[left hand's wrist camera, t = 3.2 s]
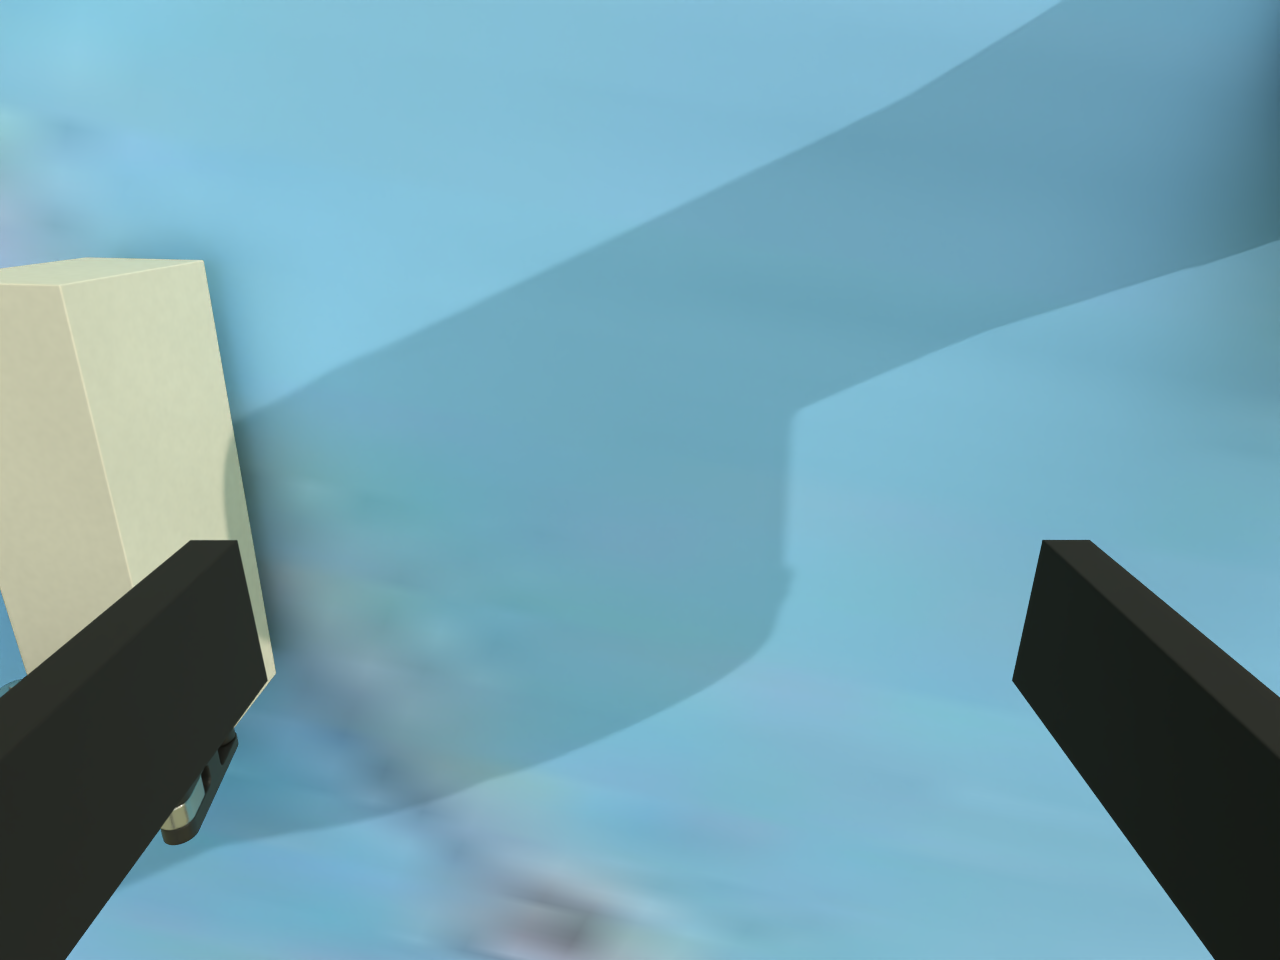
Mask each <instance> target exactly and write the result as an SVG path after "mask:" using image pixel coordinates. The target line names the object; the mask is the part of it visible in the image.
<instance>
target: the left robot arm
mask: <svg viewBox="0 0 1280 960" xmlns="http://www.w3.org/2000/svg"><path fill="white" fill-rule="evenodd" d="M267 681H268V679H267V674H266V670H265V665H264V660H263V656H262V651H261V646H260V642H259V637H258V633H257V628H256V623H255V619H254V614H253V610H252V605H251V600H250V596H249V591H248V587H247V582H246V577H245V573H244V568H243V564H242V559H241V554H240V550H239V545H238V541H237V540H190V541H189V542H187V543H186V544H185V545H184V546H183V547H181V548H180V549H179V550H178V551H177V552H175V553H174V554H173V555H172V556H171V557H169V558H168V559H167V560H166V561H165V562H163V563H162V564H161V565H160V566H158V567H157V568H156V569H155V570H154V571H152V572H151V573H150V574H149V575H148V576H146V577H145V578H144V579H143V580H142V581H140V582H139V583H138V584H137V585H136V586H134V587H133V588H132V589H131V590H129V591H128V592H127V593H126V594H125V595H123V596H122V597H121V598H120V599H119V600H117V601H116V602H115V603H114V604H113V605H111V606H110V607H109V608H108V609H107V610H105V611H104V612H103V613H102V614H100V615H99V616H98V617H97V618H96V619H94V620H93V621H92V622H91V623H90V624H88V625H87V626H86V627H85V628H84V629H82V630H81V631H80V632H79V633H78V634H76V635H75V636H74V637H73V638H72V639H70V640H69V641H68V642H67V643H65V644H64V645H63V646H62V647H61V648H59V649H58V650H57V651H56V652H55V653H53V654H52V655H51V656H50V657H49V658H47V659H46V660H45V661H44V662H43V663H41V664H40V665H39V666H38V667H36V668H35V669H34V670H33V671H32V672H30V673H29V674H28V675H27V676H26V677H24V678H23V679H22V680H21V681H20V682H18V683H17V684H16V685H15V686H14V687H12V688H11V689H10V690H9V691H7V692H6V693H5V694H4V695H3V696H1V697H0V960H65V959H66V958H67V957H68V955H69V954H70V952H71V951H72V950H73V948H74V947H75V945H76V944H77V943H78V941H79V940H80V939H81V937H82V936H83V934H84V933H85V932H86V930H87V929H88V928H89V926H90V925H91V923H92V922H93V921H94V919H95V918H96V917H97V915H98V914H99V912H100V911H101V910H102V908H103V907H104V906H105V904H106V903H107V901H108V900H109V899H110V897H111V896H112V895H113V893H114V892H115V890H116V889H117V888H118V886H119V885H120V884H121V882H122V881H123V879H124V878H125V877H126V875H127V874H128V872H129V871H130V870H131V868H132V867H133V866H134V864H135V863H136V861H137V860H138V859H139V857H140V856H141V855H142V853H143V852H144V850H145V849H146V848H147V846H148V845H149V844H150V842H151V841H152V839H153V838H154V837H155V835H156V834H157V833H158V831H159V830H160V828H161V827H162V826H163V824H164V823H165V822H166V820H167V819H168V817H169V816H170V815H171V813H172V812H173V810H174V809H175V808H176V806H177V805H178V804H179V802H180V801H181V799H182V798H183V797H184V795H185V794H186V793H187V791H188V790H189V788H190V787H191V786H192V784H193V783H194V782H195V780H196V779H197V777H198V776H199V775H200V773H201V772H202V771H203V769H204V768H205V766H206V765H207V764H208V762H209V761H210V760H211V758H212V757H213V755H214V754H215V753H216V751H217V750H218V748H219V747H220V746H221V744H222V743H223V742H224V740H225V739H226V737H227V736H228V735H229V733H230V732H231V731H232V729H233V728H234V726H235V725H236V724H237V722H238V721H239V720H240V718H241V717H242V715H243V714H244V713H245V711H246V710H247V709H248V707H249V706H250V704H251V703H252V702H253V700H254V699H255V698H256V696H257V695H258V693H259V692H260V691H261V689H262V688H263V686H264V685H265V684H266V682H267ZM1012 681H1013V682H1014V684H1015V685H1016V686H1017V688H1018V689H1019V691H1020V692H1021V693H1022V695H1023V696H1024V698H1025V699H1026V700H1027V702H1028V703H1029V704H1030V706H1031V707H1032V709H1033V710H1034V711H1035V713H1036V714H1037V715H1038V717H1039V718H1040V720H1041V721H1042V722H1043V724H1044V725H1045V726H1046V728H1047V729H1048V731H1049V732H1050V733H1051V735H1052V736H1053V737H1054V739H1055V740H1056V742H1057V743H1058V744H1059V746H1060V747H1061V748H1062V750H1063V751H1064V753H1065V754H1066V755H1067V757H1068V758H1069V760H1070V761H1071V762H1072V764H1073V765H1074V766H1075V768H1076V769H1077V771H1078V772H1079V773H1080V775H1081V776H1082V777H1083V779H1084V780H1085V782H1086V783H1087V784H1088V786H1089V787H1090V788H1091V790H1092V791H1093V793H1094V794H1095V795H1096V797H1097V798H1098V799H1099V801H1100V802H1101V804H1102V805H1103V806H1104V808H1105V809H1106V810H1107V812H1108V813H1109V815H1110V816H1111V817H1112V819H1113V820H1114V822H1115V823H1116V824H1117V826H1118V827H1119V828H1120V830H1121V831H1122V833H1123V834H1124V835H1125V837H1126V838H1127V839H1128V841H1129V842H1130V844H1131V845H1132V846H1133V848H1134V849H1135V850H1136V852H1137V853H1138V855H1139V856H1140V857H1141V859H1142V860H1143V861H1144V863H1145V864H1146V866H1147V867H1148V868H1149V870H1150V871H1151V872H1152V874H1153V875H1154V877H1155V878H1156V879H1157V881H1158V882H1159V884H1160V885H1161V886H1162V888H1163V889H1164V890H1165V892H1166V893H1167V895H1168V896H1169V897H1170V899H1171V900H1172V901H1173V903H1174V904H1175V906H1176V907H1177V908H1178V910H1179V911H1180V912H1181V914H1182V915H1183V917H1184V918H1185V919H1186V921H1187V922H1188V923H1189V925H1190V926H1191V928H1192V929H1193V930H1194V932H1195V933H1196V934H1197V936H1198V937H1199V939H1200V940H1201V941H1202V943H1203V944H1204V946H1205V947H1206V948H1207V950H1208V951H1209V952H1210V954H1211V955H1212V957H1213V958H1214V959H1215V960H1280V697H1279V696H1277V695H1276V694H1275V693H1274V692H1272V691H1271V690H1270V689H1269V688H1268V687H1266V686H1265V685H1264V684H1263V683H1262V682H1260V681H1259V680H1258V679H1257V678H1256V677H1254V676H1253V675H1252V674H1251V673H1250V672H1248V671H1247V670H1246V669H1245V668H1244V667H1242V666H1241V665H1240V664H1239V663H1237V662H1236V661H1235V660H1234V659H1233V658H1231V657H1230V656H1229V655H1228V654H1227V653H1225V652H1224V651H1223V650H1222V649H1221V648H1219V647H1218V646H1217V645H1216V644H1215V643H1213V642H1212V641H1211V640H1210V639H1208V638H1207V637H1206V636H1205V635H1204V634H1202V633H1201V632H1200V631H1199V630H1198V629H1196V628H1195V627H1194V626H1193V625H1192V624H1190V623H1189V622H1188V621H1187V620H1186V619H1184V618H1183V617H1182V616H1181V615H1180V614H1178V613H1177V612H1176V611H1175V610H1173V609H1172V608H1171V607H1170V606H1169V605H1167V604H1166V603H1165V602H1164V601H1163V600H1161V599H1160V598H1159V597H1158V596H1157V595H1155V594H1154V593H1153V592H1152V591H1151V590H1149V589H1148V588H1147V587H1146V586H1144V585H1143V584H1142V583H1141V582H1140V581H1138V580H1137V579H1136V578H1135V577H1134V576H1132V575H1131V574H1130V573H1129V572H1128V571H1126V570H1125V569H1124V568H1123V567H1122V566H1120V565H1119V564H1118V563H1117V562H1115V561H1114V560H1113V559H1112V558H1111V557H1109V556H1108V555H1107V554H1106V553H1105V552H1103V551H1102V550H1101V549H1100V548H1099V547H1097V546H1096V545H1095V544H1094V543H1093V542H1091V541H1090V540H1042V545H1041V550H1040V554H1039V559H1038V564H1037V568H1036V573H1035V577H1034V582H1033V587H1032V591H1031V596H1030V600H1029V605H1028V610H1027V614H1026V619H1025V623H1024V628H1023V633H1022V637H1021V642H1020V646H1019V651H1018V656H1017V660H1016V665H1015V670H1014V674H1013V679H1012Z"/></svg>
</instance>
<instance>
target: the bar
mask: <svg viewBox="0 0 1280 960" xmlns="http://www.w3.org/2000/svg"><path fill="white" fill-rule="evenodd" d="M190 540H237V541H238V545H239V550H240V554H241V559H242V564H243V568H244V573H245V577H246V582H247V587H248V591H249V596H250V600H251V605H252V610H253V614H254V619H255V623H256V628H257V633H258V637H259V642H260V646H261V651H262V656H263V660H264V665H265V670H266V674H267V679H268V681H267V682H266V684H265V685H264V686H263V688H262V689H261V691H260V692H259V693H258V695H257V696H256V698H255V699H254V700H253V702H252V703H251V704H250V706H249V707H248V709H249V708H250V707H251V705H252V704H253V703H254V701H255V700H256V699H257V697H258V696H259V695H260V694H261V692H262V691H263V690H264V688H265V687H266V686H267V684H268V683H269V682H270V680H271V679H272V678H273V677H274V675H275V674H276V670H275V665H274V659H273V653H272V648H271V642H270V636H269V631H268V625H267V619H266V614H265V608H264V602H263V596H262V591H261V585H260V579H259V574H258V568H257V562H256V557H255V551H254V545H253V539H252V534H251V528H250V522H249V517H248V511H247V505H246V500H245V494H244V488H243V483H242V477H241V471H240V465H239V460H238V454H237V448H236V443H235V437H234V431H233V426H232V420H231V414H230V409H229V403H228V397H227V391H226V386H225V380H224V374H223V369H222V363H221V357H220V352H219V346H218V340H217V334H216V329H215V323H214V317H213V312H212V306H211V300H210V295H209V289H208V283H207V278H206V272H205V266H204V261H203V260H174V259H129V258H78V259H71V260H63V261H55V262H48V263H40V264H32V265H25V266H17V267H9V268H2V269H0V590H1V593H2V596H3V600H4V603H5V606H6V609H7V612H8V616H9V619H10V622H11V625H12V628H13V632H14V635H15V638H16V641H17V644H18V648H19V651H20V654H21V657H22V660H23V664H24V667H25V670H26V673H27V675H28V674H29V673H30V672H32V671H33V670H34V669H35V668H36V667H38V666H39V665H40V664H41V663H43V662H44V661H45V660H46V659H47V658H49V657H50V656H51V655H52V654H53V653H55V652H56V651H57V650H58V649H59V648H61V647H62V646H63V645H64V644H65V643H67V642H68V641H69V640H70V639H72V638H73V637H74V636H75V635H76V634H78V633H79V632H80V631H81V630H82V629H84V628H85V627H86V626H87V625H88V624H90V623H91V622H92V621H93V620H94V619H96V618H97V617H98V616H99V615H100V614H102V613H103V612H104V611H105V610H107V609H108V608H109V607H110V606H111V605H113V604H114V603H115V602H116V601H117V600H119V599H120V598H121V597H122V596H123V595H125V594H126V593H127V592H128V591H129V590H131V589H132V588H133V587H134V586H136V585H137V584H138V583H139V582H140V581H142V580H143V579H144V578H145V577H146V576H148V575H149V574H150V573H151V572H152V571H154V570H155V569H156V568H157V567H158V566H160V565H161V564H162V563H163V562H165V561H166V560H167V559H168V558H169V557H171V556H172V555H173V554H174V553H175V552H177V551H178V550H179V549H180V548H181V547H183V546H184V545H185V544H186V543H187V542H189V541H190ZM248 709H247V710H248ZM247 710H246V711H245V713H246V712H247ZM245 713H244V714H245ZM244 714H243V715H242V717H243V716H244ZM242 717H241V718H242ZM241 718H240V720H241ZM240 720H239V721H240ZM239 721H238V722H239ZM238 722H237V723H238ZM236 725H237V724H236ZM236 725H235V726H236ZM235 726H234V727H235Z"/></svg>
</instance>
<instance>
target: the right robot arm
mask: <svg viewBox="0 0 1280 960" xmlns="http://www.w3.org/2000/svg"><path fill="white" fill-rule="evenodd" d="M21 680H22V679H20V680H16V681H13V682H10V683H8V684H6V685H4V686H3V687H2V688H1V689H0V697H1V696H3V695H4V694H5V693H6V692H7V691H9V690H10V689H11V688H12V687H14V686H15V685H16V684H17V683H18V682H20V681H21ZM237 747H238V739H237V735H236V733H235V731H234V728H233V729H232V731H231V732H230V733H229V735H228V736H227V737H226V739H225V740H224V742H223V743H222V744H221V746H220V747H219V748H218V750H217V751H216V753H215V754H214V755H213V757H212V758H211V760H210V761H209V762H208V764H207V765H206V766H205V768H204V769H203V771H202V772H201V773H200V775H199V776H198V777H197V779H196V780H195V782H194V783H193V784H192V786H191V787H190V788H189V790H188V791H187V793H186V794H185V795H184V797H183V798H182V799H181V801H180V802H179V804H178V805H177V806H176V808H175V809H174V810H173V812H172V813H171V815H170V816H169V817H168V819H167V820H166V822H165V823H164V824H163V826H162V827H161V828H160V829H161V832H162V836H163V840H164V842H165V843H166V844H169V845H178V844H182V843H185V842H187V841H189V840H190V839H192V838H193V837H194V836H195V835H196V834H197V833H198V831H199V829H200V827H201V825H202V823H203V821H204V818H205V816H206V814H207V812H208V810H209V807H210V805H211V803H212V801H213V799H214V797H215V794H216V792H217V790H218V788H219V786H220V784H221V781H222V779H223V777H224V775H225V773H226V771H227V768H228V766H229V764H230V762H231V760H232V757H233V755H234V753H235V751H236V749H237Z"/></svg>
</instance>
